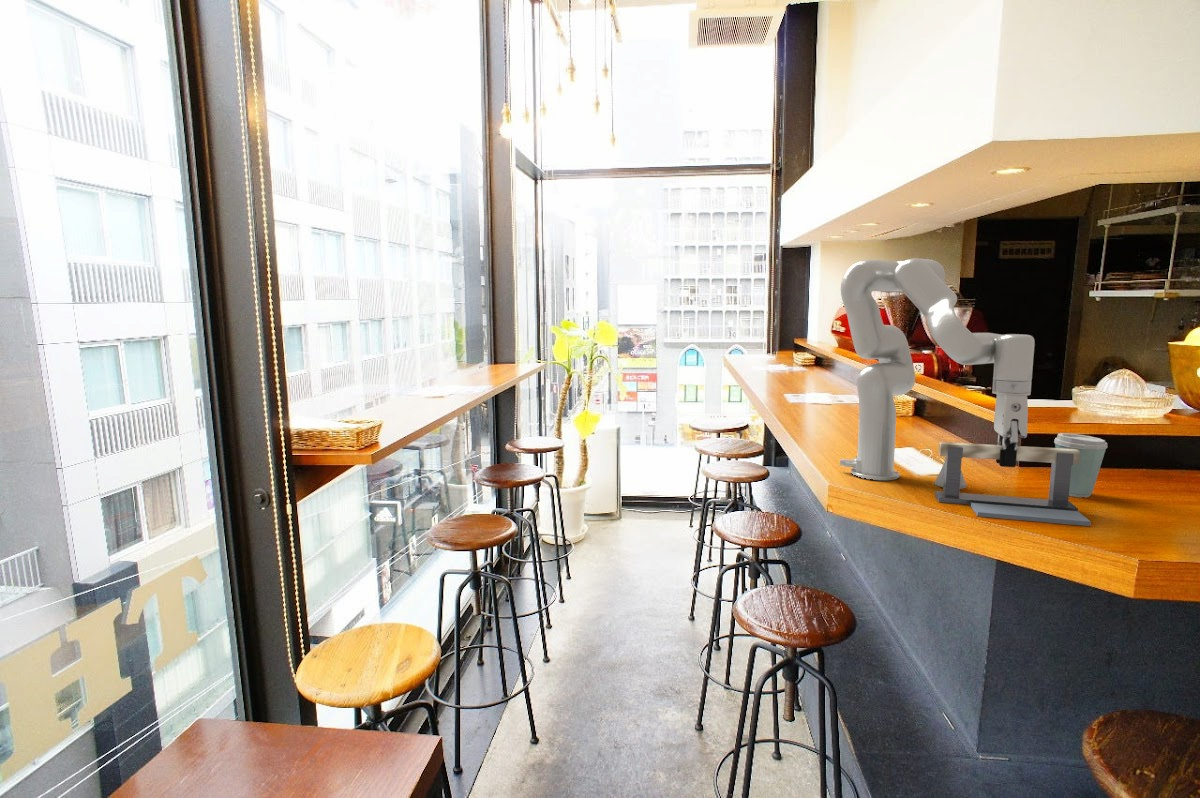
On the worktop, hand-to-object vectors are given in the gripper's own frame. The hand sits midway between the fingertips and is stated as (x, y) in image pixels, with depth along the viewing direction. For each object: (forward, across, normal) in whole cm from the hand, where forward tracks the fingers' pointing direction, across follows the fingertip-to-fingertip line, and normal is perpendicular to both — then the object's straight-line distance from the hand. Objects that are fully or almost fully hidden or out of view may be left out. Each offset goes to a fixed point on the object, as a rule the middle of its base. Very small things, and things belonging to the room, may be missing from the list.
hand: (1005, 464), depth 150 cm
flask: (+10, +14, +9) cm, 19 cm away
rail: (-1, 0, 0) cm, 1 cm away
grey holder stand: (+10, 0, 0) cm, 10 cm away
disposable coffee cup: (+10, +15, -19) cm, 26 cm away
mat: (+10, -8, -3) cm, 13 cm away
